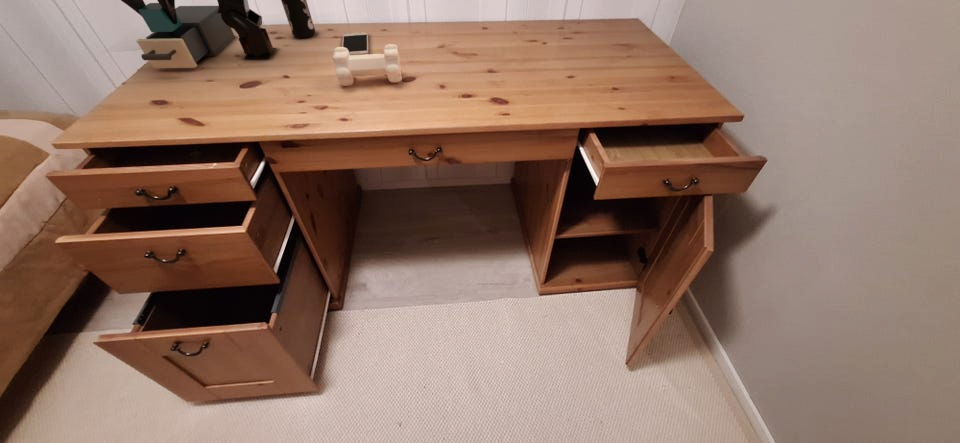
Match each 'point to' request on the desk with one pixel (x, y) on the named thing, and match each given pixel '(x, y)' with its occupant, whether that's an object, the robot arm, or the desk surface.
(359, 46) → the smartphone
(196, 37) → the drawer
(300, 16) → the beverage can
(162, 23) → the block
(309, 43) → the desk surface
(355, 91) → the desk surface
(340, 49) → the bone shaped toy
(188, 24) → the cabinet
